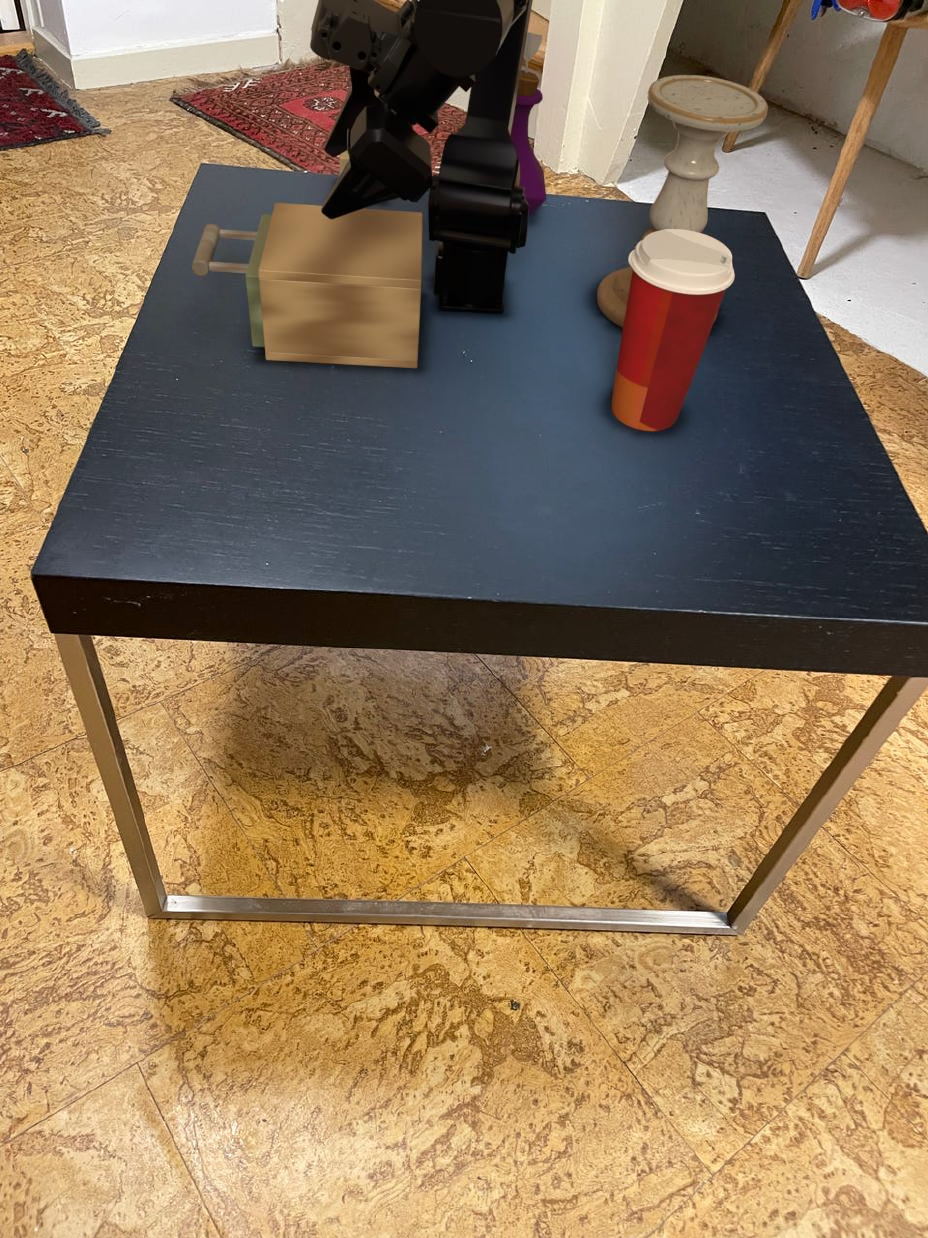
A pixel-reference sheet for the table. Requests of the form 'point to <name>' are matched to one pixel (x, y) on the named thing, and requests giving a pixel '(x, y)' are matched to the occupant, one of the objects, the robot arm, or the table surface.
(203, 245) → the drawer
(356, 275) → the cabinet
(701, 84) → the candle holder
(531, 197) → the perfume bottle
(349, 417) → the table surface
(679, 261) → the coffee cup
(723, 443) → the table surface
